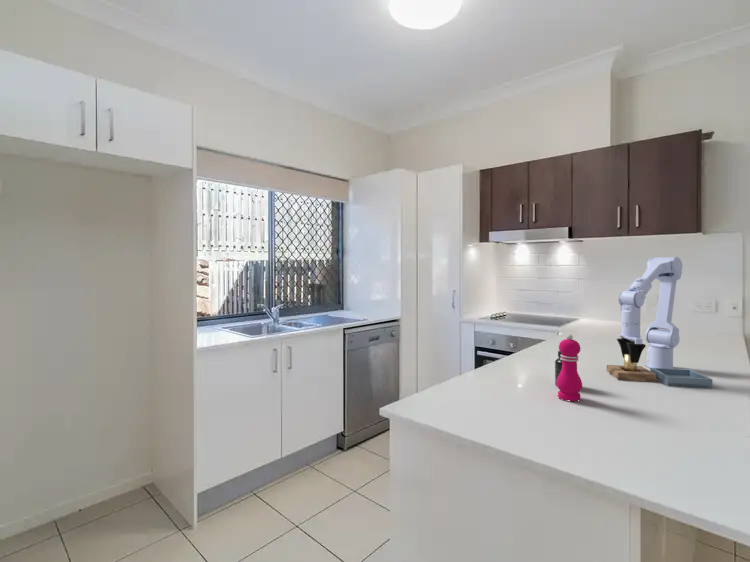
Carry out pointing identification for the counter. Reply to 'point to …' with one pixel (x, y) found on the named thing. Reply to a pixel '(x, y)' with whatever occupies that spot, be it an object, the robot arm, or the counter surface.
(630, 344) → the robot arm
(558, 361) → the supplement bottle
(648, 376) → the walnut socket block
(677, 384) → the slate-blue tray
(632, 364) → the brass peg
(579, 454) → the counter surface
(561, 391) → the pepper mill
